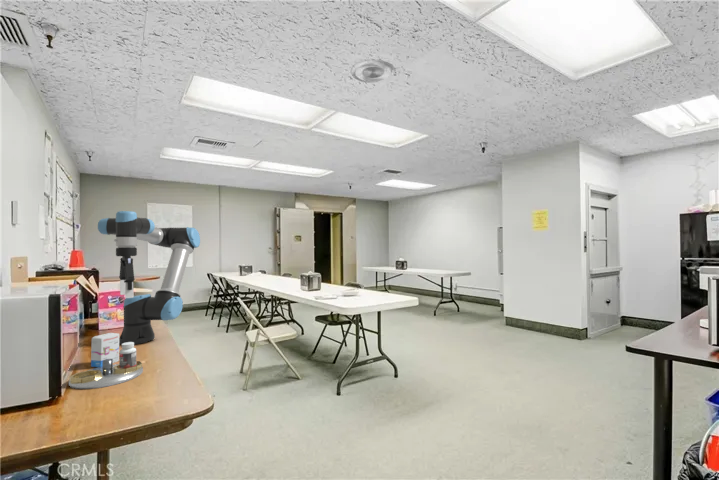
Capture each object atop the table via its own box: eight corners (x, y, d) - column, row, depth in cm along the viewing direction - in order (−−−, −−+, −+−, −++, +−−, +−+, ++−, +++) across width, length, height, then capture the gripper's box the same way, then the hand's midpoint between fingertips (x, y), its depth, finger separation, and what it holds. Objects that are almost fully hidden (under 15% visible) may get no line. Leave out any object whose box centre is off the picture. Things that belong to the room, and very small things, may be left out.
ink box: (100, 367, 137) (100, 337, 138) (90, 367, 138) (90, 337, 139) (119, 360, 146) (119, 332, 146) (109, 360, 147) (109, 332, 147)
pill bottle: (116, 371, 129) (116, 345, 130) (125, 366, 135) (125, 341, 135) (130, 371, 130) (130, 345, 130) (139, 366, 135) (139, 341, 135)
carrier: (98, 367, 138) (98, 351, 138) (154, 365, 139) (154, 350, 139) (51, 390, 116) (51, 371, 116) (118, 388, 117) (118, 369, 117)
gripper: (111, 247, 157) (111, 294, 156) (120, 247, 138) (120, 300, 138) (131, 247, 162) (131, 292, 161) (142, 246, 143) (142, 298, 143)
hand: (126, 296), depth 150 cm, fingers open, 13 cm apart
